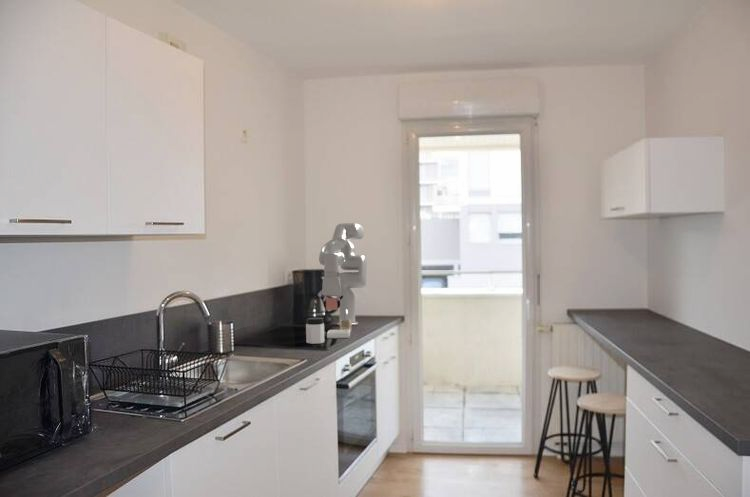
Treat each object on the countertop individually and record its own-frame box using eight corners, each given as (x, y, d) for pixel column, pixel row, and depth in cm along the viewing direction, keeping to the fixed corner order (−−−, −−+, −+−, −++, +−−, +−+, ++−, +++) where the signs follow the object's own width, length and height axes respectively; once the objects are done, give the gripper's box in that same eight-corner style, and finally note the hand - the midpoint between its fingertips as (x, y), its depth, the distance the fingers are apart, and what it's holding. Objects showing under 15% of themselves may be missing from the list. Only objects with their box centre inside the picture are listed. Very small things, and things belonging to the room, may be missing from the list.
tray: (329, 335, 321) (329, 329, 321) (350, 334, 320) (350, 329, 320) (327, 338, 309) (326, 332, 309) (348, 337, 309) (348, 332, 309)
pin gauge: (343, 331, 335) (343, 309, 335) (348, 331, 334) (347, 309, 334) (343, 331, 332) (342, 310, 332) (347, 331, 332) (347, 310, 332)
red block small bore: (327, 308, 329) (327, 297, 329) (338, 308, 329) (337, 297, 329) (326, 310, 323) (325, 298, 323) (337, 309, 323) (336, 298, 323)
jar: (312, 340, 303) (311, 317, 303) (326, 341, 300) (326, 317, 300) (303, 343, 294) (303, 319, 294) (318, 344, 292) (318, 319, 291)
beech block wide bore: (340, 330, 336) (340, 320, 336) (351, 330, 336) (351, 319, 336) (339, 332, 330) (339, 321, 330) (350, 332, 330) (350, 321, 330)
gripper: (347, 274, 329) (348, 307, 329) (316, 275, 330) (317, 307, 330) (346, 275, 322) (347, 308, 322) (314, 275, 322) (315, 309, 322)
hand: (332, 307), depth 326 cm, fingers closed on red block small bore, 6 cm apart
